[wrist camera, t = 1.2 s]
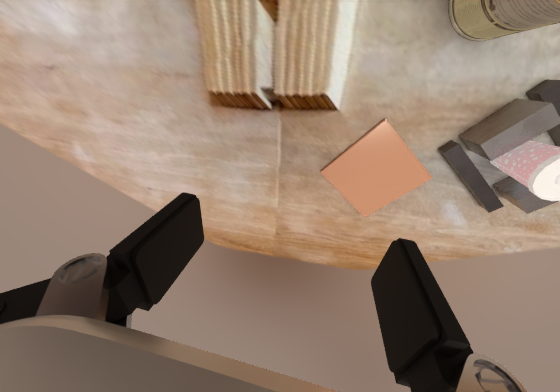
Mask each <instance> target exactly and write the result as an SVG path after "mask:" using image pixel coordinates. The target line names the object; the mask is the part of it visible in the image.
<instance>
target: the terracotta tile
mask: <svg viewBox="0 0 560 392" xmlns="http://www.w3.org/2000/svg"><path fill="white" fill-rule="evenodd" d="M321 174H322V175H323V176H324V177H325V178H326V179H327V180H328V181H329V182H330V183H331V184H332V185H333V186H334V187H335V188H336V189H337V190H338V191H339V192H340V193H341V194H342V195H343V196H344V197H345V198H346V199H347V200H348V201H349V202H350V203H351V204H352V205H353V206H354V207H355V208H356V209H357V210H358V211H359V212H360V213H361V214H362V215H363V216H364V217H366V216H368V215H369V214H371V213H373V212H374V211H376V210H378V209H380V208H381V207H383V206H385V205H386V204H388V203H390V202H392V201H393V200H395V199H397V198H398V197H400V196H402V195H404V194H405V193H407V192H409V191H410V190H412V189H414V188H416V187H417V186H419V185H421V184H423V183H424V182H426V181H428V180H429V179H431V178H432V176H431V175H430V174H429V173H428V171H427V170H426V169H425V168H424V166H423V165H422V164H421V163H420V161H419V160H418V159H417V158H416V156H415V155H414V154H413V153H412V151H411V150H410V149H409V148H408V147H407V145H406V144H405V143H404V142H403V140H402V139H401V138H400V137H399V135H398V134H397V133H396V132H395V130H394V129H393V128H392V127H391V125H390V124H389V123H388V122H387V120H386V119H384V120H382V121H381V122H380V123H379V124H378V125H376V126H375V127H374V128H373V129H371V130H370V131H369V132H368V133H366V134H365V135H364V136H363V137H362V138H360V139H359V140H358V141H357V142H355V143H354V144H353V145H352V146H350V147H349V148H348V149H347V150H346V151H344V152H343V153H342V154H341V155H339V156H338V157H337V158H336V159H334V160H333V161H332V162H331V163H330V164H328V165H327V166H326V167H325V168H323V169H322V170H321Z"/></svg>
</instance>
